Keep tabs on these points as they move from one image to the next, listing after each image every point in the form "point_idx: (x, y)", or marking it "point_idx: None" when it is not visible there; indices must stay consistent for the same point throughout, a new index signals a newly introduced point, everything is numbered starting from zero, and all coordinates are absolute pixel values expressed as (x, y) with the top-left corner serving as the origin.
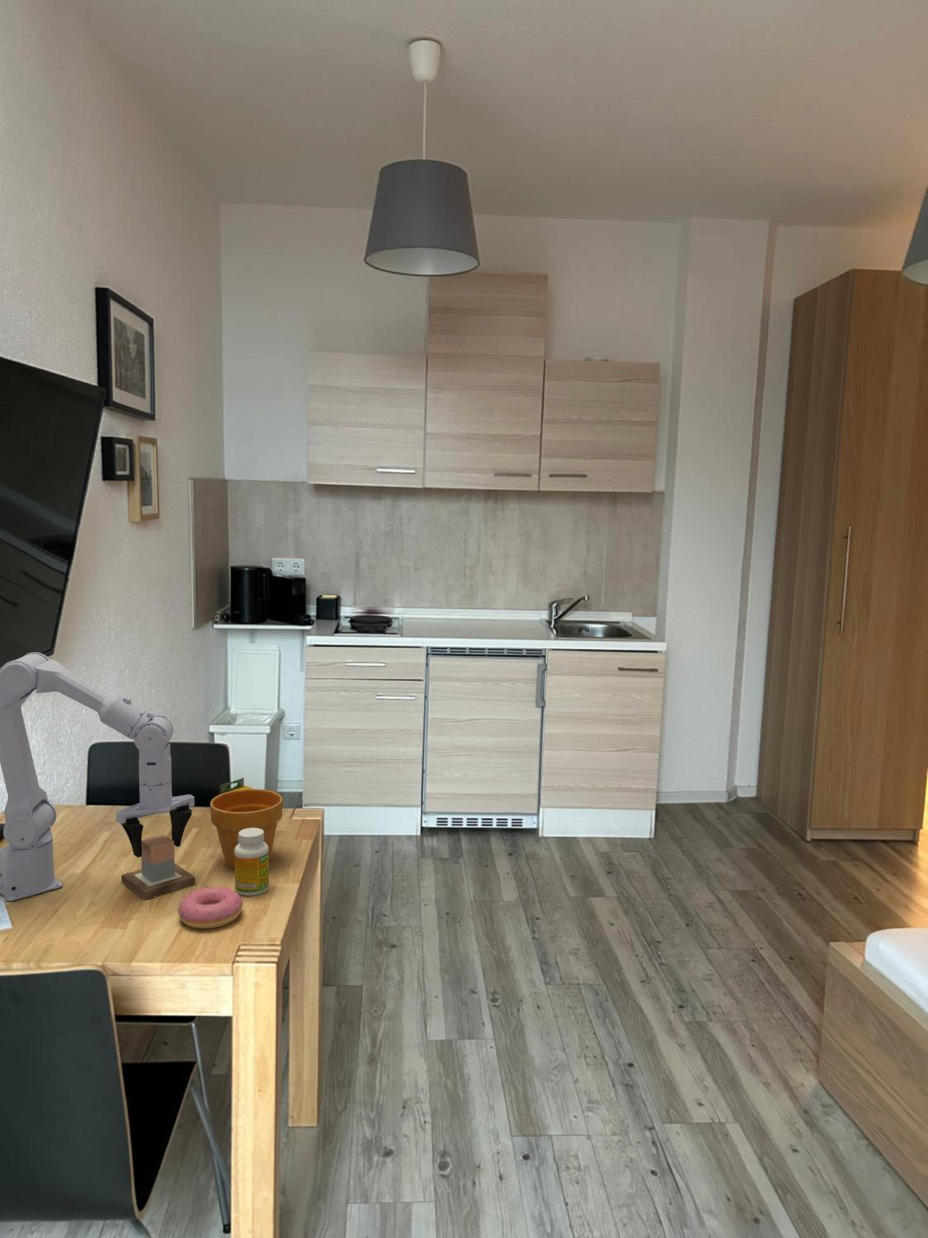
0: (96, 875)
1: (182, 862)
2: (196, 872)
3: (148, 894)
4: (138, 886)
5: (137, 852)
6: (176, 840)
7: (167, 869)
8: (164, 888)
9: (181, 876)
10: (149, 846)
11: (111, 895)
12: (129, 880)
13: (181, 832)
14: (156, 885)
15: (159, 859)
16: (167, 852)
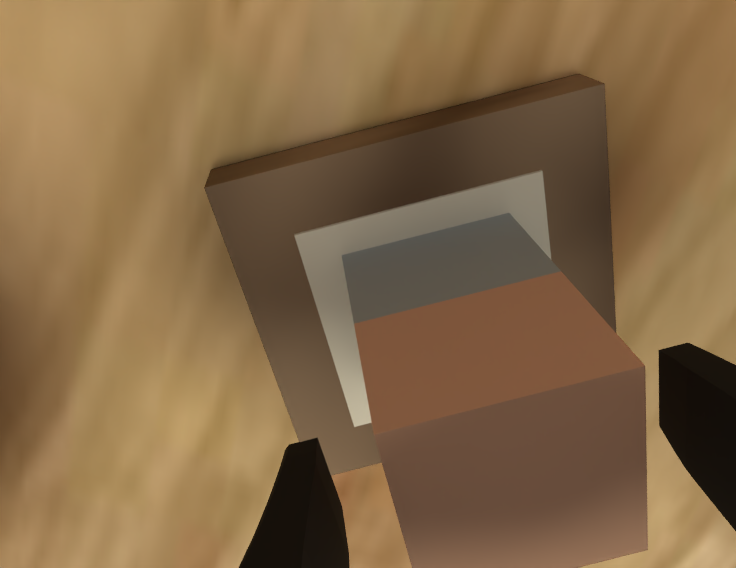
0: (664, 490)
1: (240, 493)
2: (178, 347)
3: (561, 86)
4: (600, 201)
5: (732, 367)
6: (322, 492)
7: (406, 271)
8: (444, 119)
9: (299, 233)
10: (644, 397)
11: (703, 241)
12: (611, 315)
13: (271, 549)
14: (493, 163)
15: (500, 304)
16: (432, 350)
